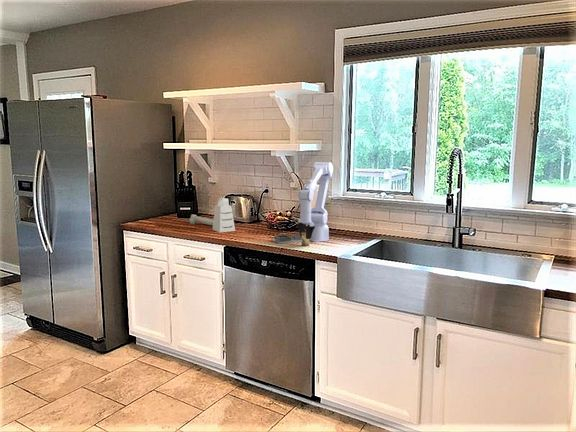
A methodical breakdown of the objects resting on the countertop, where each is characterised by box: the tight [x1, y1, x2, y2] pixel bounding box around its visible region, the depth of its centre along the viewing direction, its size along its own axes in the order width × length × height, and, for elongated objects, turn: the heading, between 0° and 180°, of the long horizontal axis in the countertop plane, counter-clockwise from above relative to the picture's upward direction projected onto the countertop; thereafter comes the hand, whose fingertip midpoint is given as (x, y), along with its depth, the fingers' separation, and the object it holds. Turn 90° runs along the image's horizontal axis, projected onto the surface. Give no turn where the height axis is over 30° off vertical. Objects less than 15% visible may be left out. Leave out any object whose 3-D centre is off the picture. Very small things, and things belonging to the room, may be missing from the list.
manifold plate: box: [271, 233, 302, 245], centre depth 267 cm, size 18×9×3 cm, turn 114°
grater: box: [212, 197, 236, 233], centre depth 297 cm, size 10×10×20 cm
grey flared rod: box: [188, 214, 214, 227], centre depth 317 cm, size 5×7×25 cm
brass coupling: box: [301, 231, 310, 247], centre depth 255 cm, size 5×5×7 cm
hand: (305, 237), depth 255 cm, fingers open, 7 cm apart
